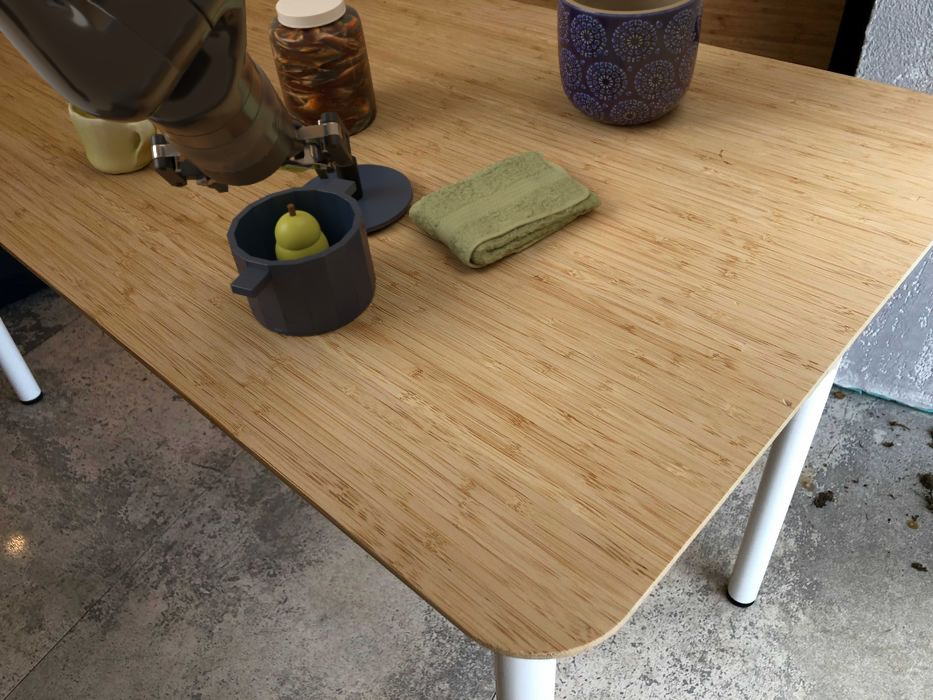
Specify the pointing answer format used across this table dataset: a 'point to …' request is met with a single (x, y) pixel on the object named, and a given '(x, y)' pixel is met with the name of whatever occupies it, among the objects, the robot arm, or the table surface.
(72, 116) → the mug
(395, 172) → the lid
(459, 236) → the washcloth
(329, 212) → the pot
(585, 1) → the planter
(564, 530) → the table surface
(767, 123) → the table surface
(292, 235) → the pear
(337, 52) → the jar
